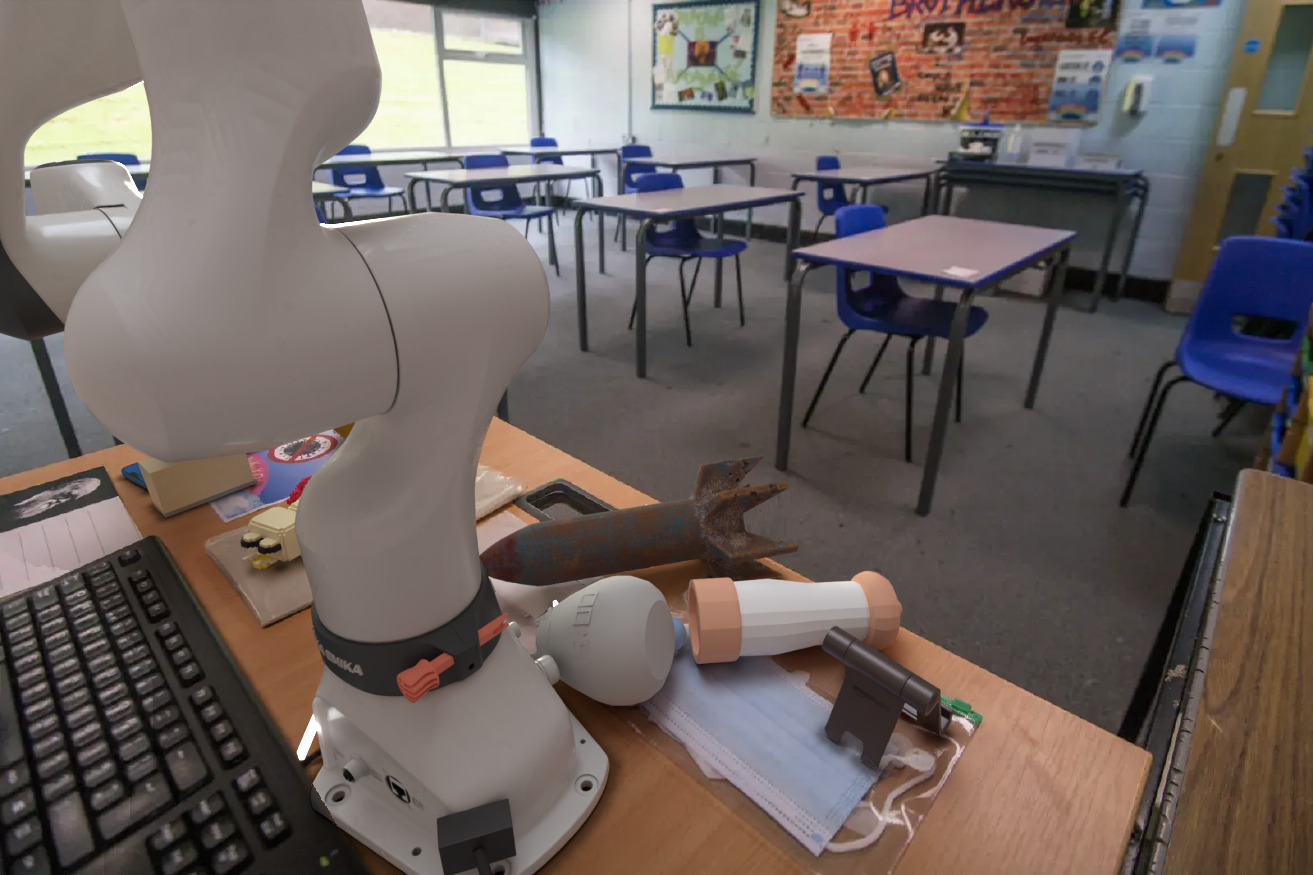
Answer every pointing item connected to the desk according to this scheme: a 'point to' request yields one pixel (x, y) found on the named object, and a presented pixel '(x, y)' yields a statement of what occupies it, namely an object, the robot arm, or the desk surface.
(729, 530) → the rusty missile
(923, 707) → the tablet stand
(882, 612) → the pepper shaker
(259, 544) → the blocky cream chicken toy
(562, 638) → the grey space capsule
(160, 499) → the block
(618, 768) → the desk surface
